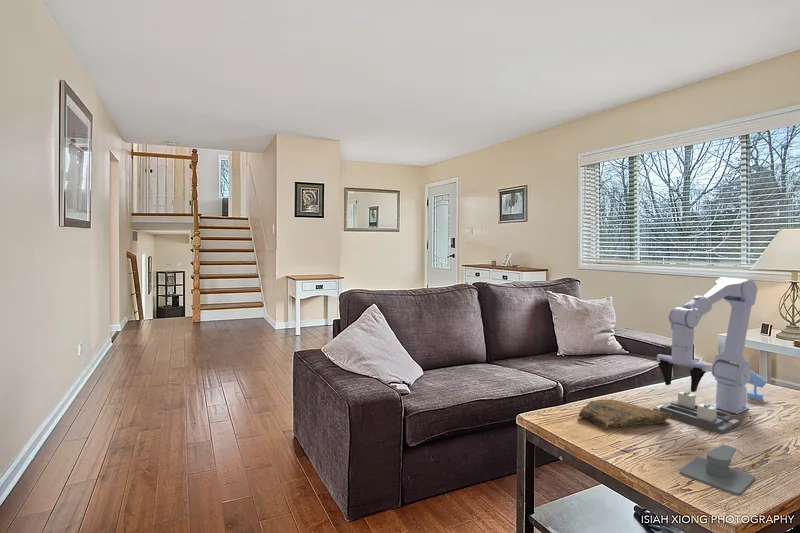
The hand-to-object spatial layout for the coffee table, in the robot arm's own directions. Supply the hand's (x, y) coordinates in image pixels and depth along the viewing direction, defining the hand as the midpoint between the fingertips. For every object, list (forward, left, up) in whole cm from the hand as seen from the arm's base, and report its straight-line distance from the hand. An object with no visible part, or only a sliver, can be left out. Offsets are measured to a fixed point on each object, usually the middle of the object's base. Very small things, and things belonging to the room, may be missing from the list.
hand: (680, 387), depth 144 cm
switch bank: (-4, +3, -10) cm, 11 cm away
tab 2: (-1, +7, -8) cm, 11 cm away
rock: (+17, -8, -10) cm, 22 cm away
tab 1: (-8, -2, -8) cm, 12 cm away
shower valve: (+29, +23, -10) cm, 38 cm away
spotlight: (-43, +5, -10) cm, 44 cm away
